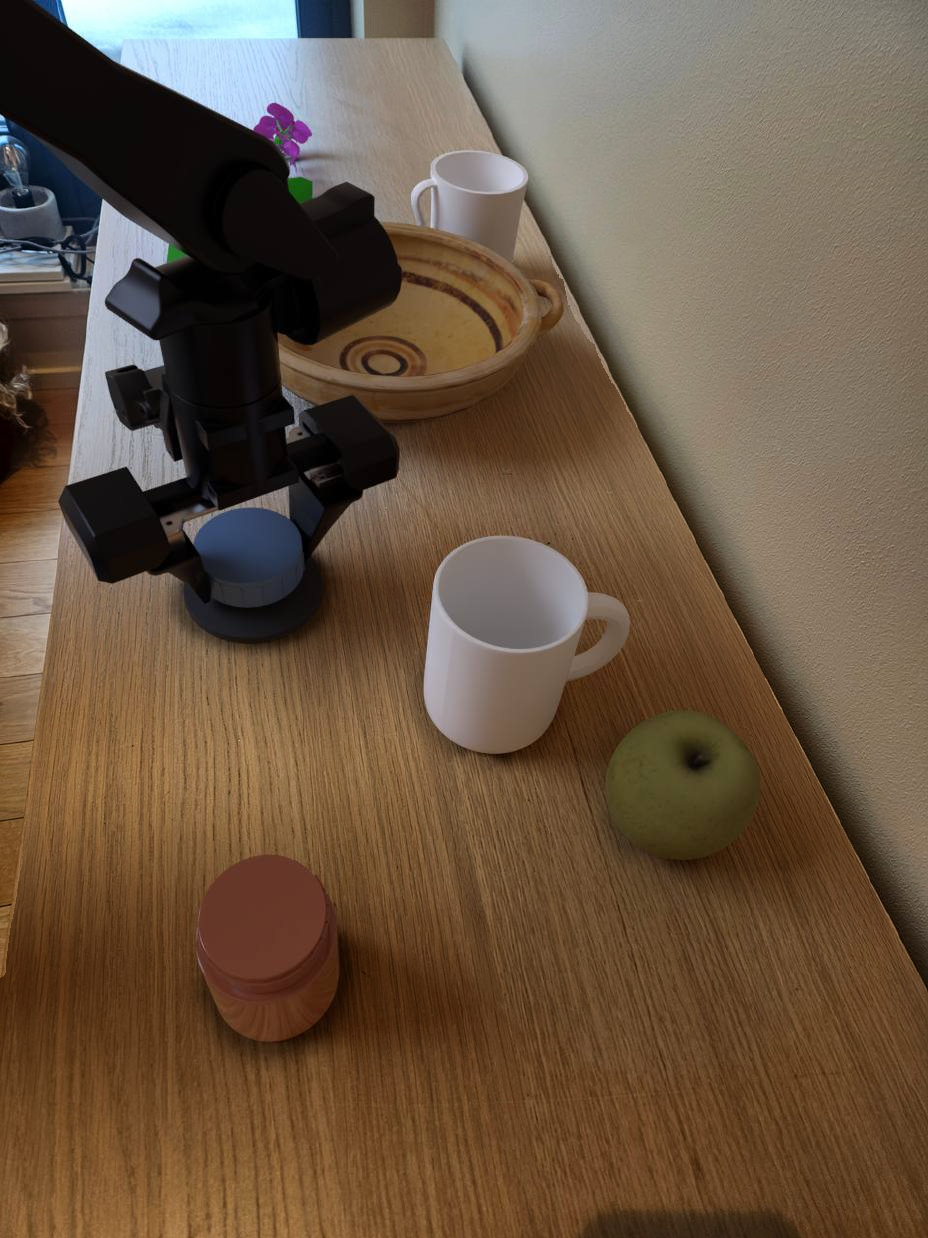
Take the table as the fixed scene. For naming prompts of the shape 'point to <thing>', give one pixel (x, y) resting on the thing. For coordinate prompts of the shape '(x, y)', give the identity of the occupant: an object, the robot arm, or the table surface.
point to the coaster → (260, 611)
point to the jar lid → (250, 556)
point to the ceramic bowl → (429, 333)
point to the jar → (268, 947)
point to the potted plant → (284, 133)
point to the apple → (682, 785)
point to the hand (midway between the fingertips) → (253, 578)
